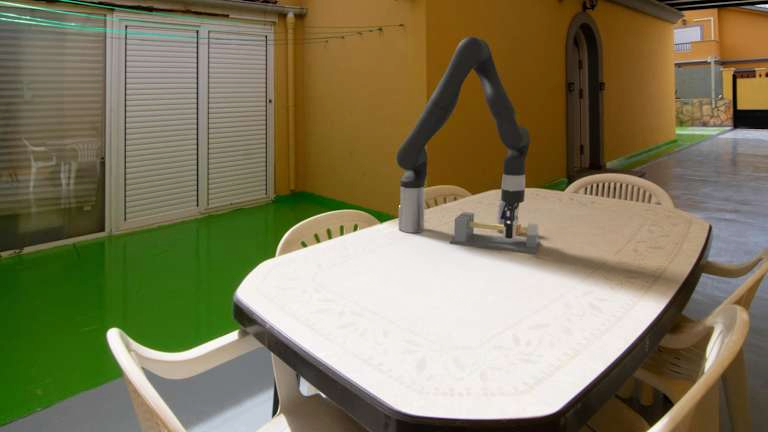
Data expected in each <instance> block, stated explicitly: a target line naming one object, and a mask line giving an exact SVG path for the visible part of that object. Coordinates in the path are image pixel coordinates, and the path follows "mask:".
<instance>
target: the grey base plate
mask: <svg viewBox="0 0 768 432" xmlns="http://www.w3.org/2000/svg"><path fill="white" fill-rule="evenodd" d="M526 239H527V238H520V237H519V238H518V237H516V238H511V239H509V238H506V237H503V235H493V234H492V235H491V234H483V233H475V232H473V235H472V236H471V237H470V238H469V239H468V240H467V241H466V242H461V241H454V236H453V237H452V238H451V239H449V244H453V245H459V246H460V245H461V246H469V247H476V248H477V247H478V248H483V249H491V250H492V249H493V250H501V251H509V252H515V253H516V252H517V253H526V254H533V255H535V254H536V253H537V251H538V249H539V247H540V244H541V240H538V242H537V245H536V247H535V248H534V247H526Z"/></svg>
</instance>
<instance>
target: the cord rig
mask: <svg viewBox="0 0 768 432" xmlns="http://www.w3.org/2000/svg"><path fill="white" fill-rule="evenodd" d="M539 225H540V224H539V223H531V222H529V223H528V225H527V227H526V226H522V224H521V223H518V226H517V227H516V232H517V234H518V235H520V234H521V233H523V234H526V238H525V239H526V247H534V248H535V247H536V245H537V242H538V239H539ZM474 228H476V229H485V230H486V229H487V230H492V231H493V230H494V231H497V230H502V231H504V225H499V224H497V223H489V222H487V223H486V222H476V221H475V212H470V211H462V212H461V213H460V214H459V215H458V216H456V217H455V218H454V233H453V234H454V236H453V237H454V241H461V242H466V241H467V240H468V239H469V238H470V237H471V236H472V235H473V233H475V232H474V231H475V230H474Z"/></svg>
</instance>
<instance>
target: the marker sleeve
mask: <svg viewBox="0 0 768 432" xmlns="http://www.w3.org/2000/svg"><path fill="white" fill-rule="evenodd" d="M508 224H510V221H508ZM518 225H519V219H518V220H515V221H514V224H513V235H512V238H517V236H518V235H519V234H517V232H516V227H517V226H518ZM505 234H506V227H504V231H503V233H502V236H503V237H505Z"/></svg>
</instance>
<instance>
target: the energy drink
mask: <svg viewBox="0 0 768 432" xmlns="http://www.w3.org/2000/svg"><path fill="white" fill-rule="evenodd" d="M505 207H507V203H506V202H503V201H502V200H501V199H498V202H497V211H496V214H497V216H496V224H499V225H504V211H505ZM496 232H497V233H499V234H503V231H502V230H496Z"/></svg>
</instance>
